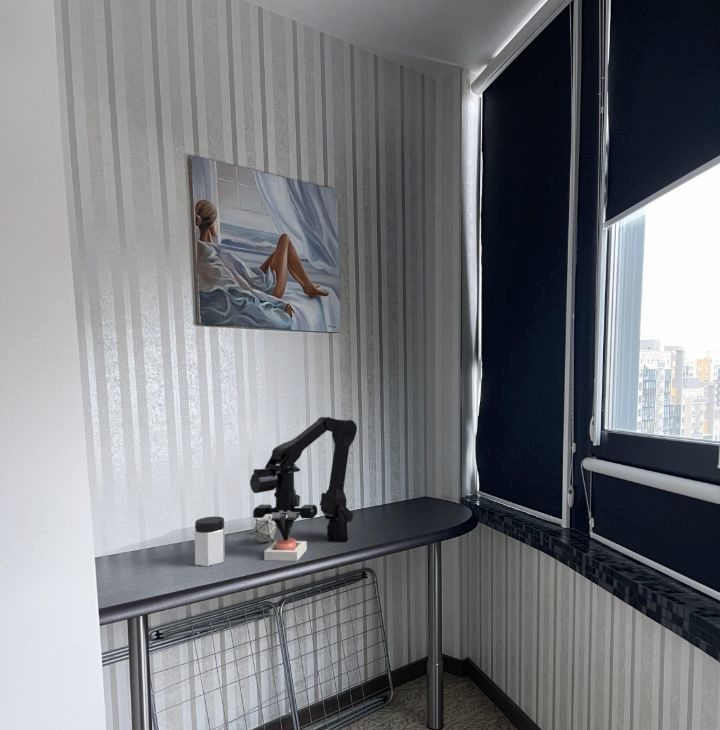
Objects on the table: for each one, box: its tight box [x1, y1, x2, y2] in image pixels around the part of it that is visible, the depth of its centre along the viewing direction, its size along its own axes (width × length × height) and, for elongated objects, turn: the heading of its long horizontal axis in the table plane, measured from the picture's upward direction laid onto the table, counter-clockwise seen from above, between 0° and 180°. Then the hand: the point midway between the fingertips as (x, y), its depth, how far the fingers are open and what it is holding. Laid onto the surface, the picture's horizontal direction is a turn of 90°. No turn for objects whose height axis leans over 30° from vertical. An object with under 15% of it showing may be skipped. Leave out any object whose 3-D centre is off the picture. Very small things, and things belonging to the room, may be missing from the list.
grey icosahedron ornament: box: [249, 515, 279, 546], centre depth 152 cm, size 9×8×10 cm
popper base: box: [263, 540, 308, 562], centre depth 140 cm, size 10×10×2 cm
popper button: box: [275, 537, 297, 550], centre depth 140 cm, size 6×6×4 cm
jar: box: [194, 516, 226, 567], centre depth 137 cm, size 9×8×12 cm
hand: (286, 540), depth 140 cm, fingers closed, pressing on popper button
